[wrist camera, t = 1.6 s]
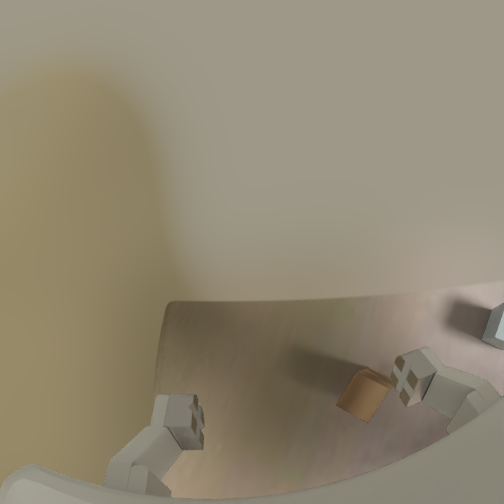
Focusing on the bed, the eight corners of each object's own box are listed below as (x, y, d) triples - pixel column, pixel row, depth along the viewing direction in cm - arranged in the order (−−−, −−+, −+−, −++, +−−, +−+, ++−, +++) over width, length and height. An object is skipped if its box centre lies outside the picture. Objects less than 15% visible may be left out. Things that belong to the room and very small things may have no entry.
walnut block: (394, 380, 34) (389, 389, 26) (378, 406, 34) (367, 423, 26) (369, 367, 38) (356, 371, 29) (353, 393, 37) (335, 404, 29)
